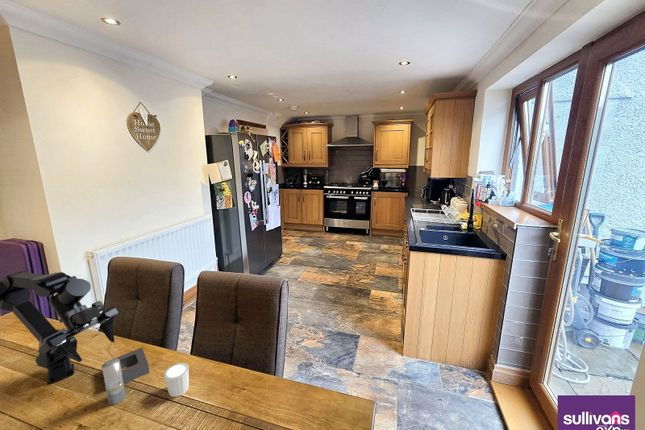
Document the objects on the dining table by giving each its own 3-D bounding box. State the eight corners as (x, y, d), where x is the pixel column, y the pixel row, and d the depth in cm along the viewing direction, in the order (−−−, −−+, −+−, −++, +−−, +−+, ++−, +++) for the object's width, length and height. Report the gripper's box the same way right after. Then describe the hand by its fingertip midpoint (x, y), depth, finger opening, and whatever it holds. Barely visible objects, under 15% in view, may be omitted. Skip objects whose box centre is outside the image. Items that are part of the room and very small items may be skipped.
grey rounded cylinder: (107, 398, 83) (101, 363, 80) (124, 390, 86) (118, 356, 83) (109, 407, 80) (102, 371, 77) (126, 399, 83) (120, 363, 80)
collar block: (106, 370, 94) (104, 362, 93) (143, 355, 101) (142, 347, 100) (109, 390, 86) (107, 381, 85) (149, 372, 93) (148, 363, 92)
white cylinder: (180, 400, 82) (178, 380, 81) (161, 396, 84) (158, 377, 82) (195, 382, 89) (193, 364, 87) (177, 379, 90) (174, 361, 89)
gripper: (40, 314, 72) (73, 363, 71) (113, 284, 89) (139, 323, 89) (26, 331, 76) (56, 377, 76) (98, 299, 93) (123, 336, 93)
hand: (98, 351), depth 83 cm, fingers open, 9 cm apart
